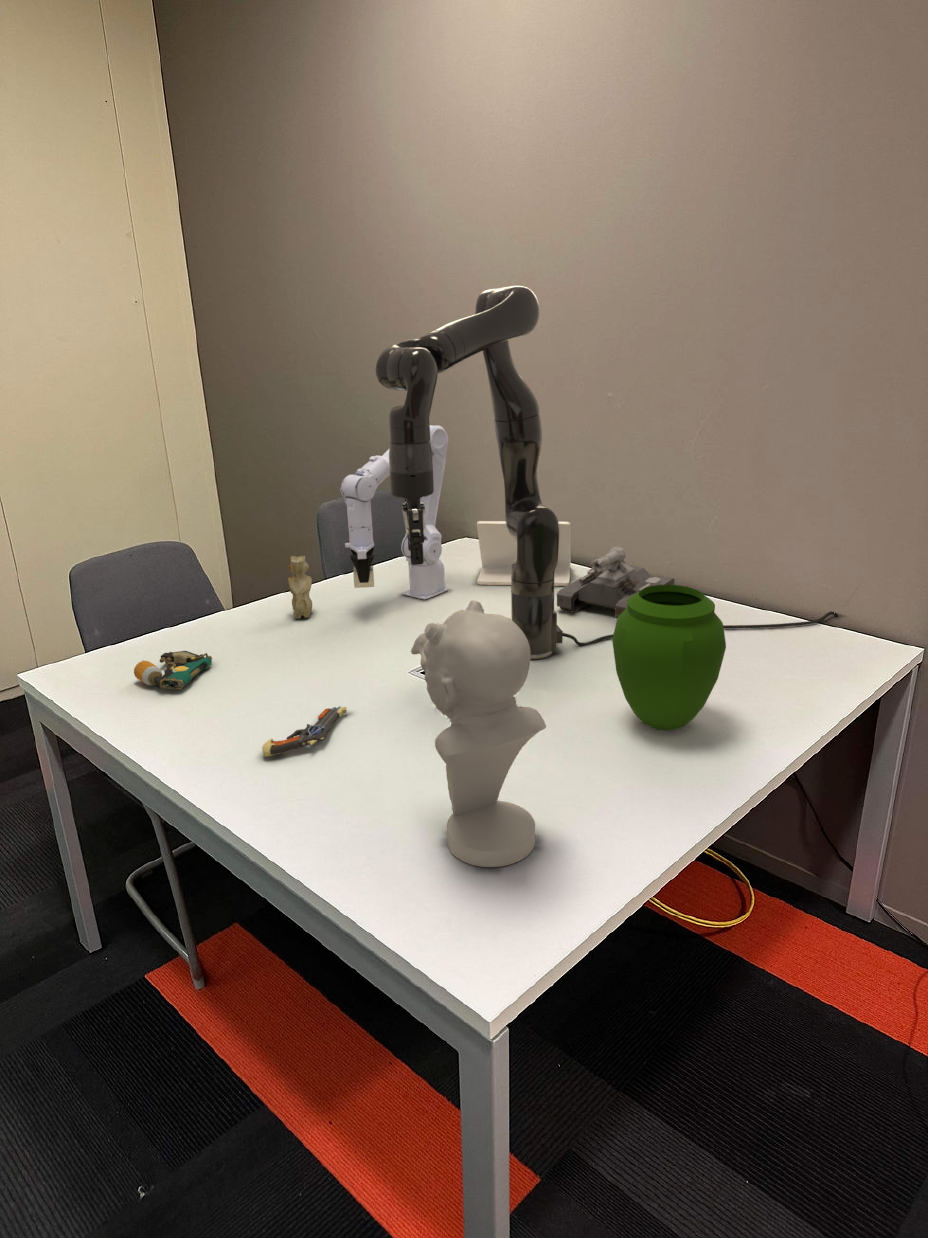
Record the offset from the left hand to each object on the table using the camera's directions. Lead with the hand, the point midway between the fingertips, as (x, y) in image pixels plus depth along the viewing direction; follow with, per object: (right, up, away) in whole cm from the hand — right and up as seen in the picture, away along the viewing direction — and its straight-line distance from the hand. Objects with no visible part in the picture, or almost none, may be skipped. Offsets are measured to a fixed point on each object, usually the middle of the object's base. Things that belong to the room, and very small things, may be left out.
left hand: (364, 579), depth 209 cm
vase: (+61, -29, -54) cm, 86 cm away
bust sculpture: (+25, -41, -84) cm, 97 cm away
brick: (0, -1, 0) cm, 1 cm away
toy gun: (-4, -31, -55) cm, 63 cm away
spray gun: (-36, -22, -29) cm, 51 cm away
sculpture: (-16, -9, +4) cm, 19 cm away
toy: (+63, -6, +5) cm, 63 cm away
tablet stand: (+42, +2, +30) cm, 51 cm away
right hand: (+16, +1, -56) cm, 58 cm away
